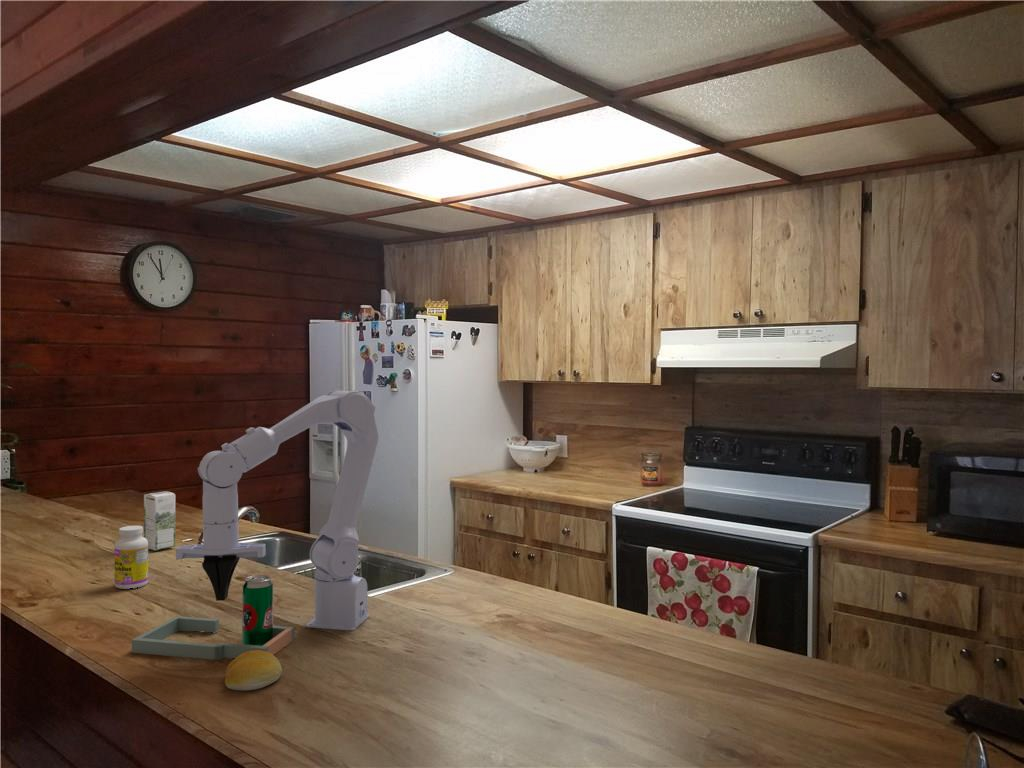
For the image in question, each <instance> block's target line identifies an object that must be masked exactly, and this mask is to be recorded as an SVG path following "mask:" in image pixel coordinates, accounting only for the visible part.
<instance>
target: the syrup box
mask: <svg viewBox="0 0 1024 768" xmlns="http://www.w3.org/2000/svg"><path fill="white" fill-rule="evenodd" d="M176 498H177V497H176V494H175V493H174V492H171V491H167V490H165V491H158V492H152V493H145V494H143V537H144V538H146V539H147V541H148V550H152V551H159V550H164V549H169V548H173V547H176Z"/></svg>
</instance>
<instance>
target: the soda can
mask: <svg viewBox="0 0 1024 768" xmlns="http://www.w3.org/2000/svg"><path fill="white" fill-rule="evenodd" d="M241 587H242V588H241V589H242V590H241V592H242V598H241V599H242V601H241V602H242V603H241V604H242V605H241V607H242V610H241V611H242V614H241V616H242V619H241V623H242V625H241V644H246V645H258V646H263V645H264V644H266V643H267V642H269V641H270V640H271V639H273V626H274V582H273V581H272V577H271V576H270V575H265V574H257V575H252V576H251V575H250V576H247V577H246V578H245V579H244V583H243V584H242V586H241Z"/></svg>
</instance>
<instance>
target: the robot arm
mask: <svg viewBox="0 0 1024 768" xmlns="http://www.w3.org/2000/svg"><path fill="white" fill-rule="evenodd" d="M375 410H376V406H375V405H374V404H373V402H372V401H371V399H370V398H369V397H368V396H367V395H366V394H365V393H364V392H362V391H359V390H353V391H351V390H349V391H348V390H343V389H334V390H331V391H329V392H328V393H326V395H325V394H323V395H321V396H318V397H316V398H315V399H313V400H312V401H311V402H309V403H307V404H306V405H304V406H302V407H301V408H299V409H298V410H296V411H294V412H293V413H291V414H290V415H288V416H287V417H286V418H284V419H282V420H281V421H279V422H278V423H276V424H275V425H272V426H271V427H269V428H266V427H262V426H257V427H256V428H255V427H251V426H250V427H249V428H247V429H246V430H245V432H246V433H245V434H244V435H242V436H241V437H239V438H236V439H235V440H234V441H231V442H230V443H228V442H225V443H224V444H222V445H221V446H220V447H221V448H222V449H221V450H213V451H210V452H207V453H206V454H205V455H204V456H203V457H202V458H201V459H202V460H201V461H200V463H199V466H198V467H197V472H198V475H199V477H200V478H201V479H202V534H203V535H202V540H203V541H202V543H201V544H200V543H198V544H189V545H179V546H177V547H176V548H175V560H177V561H178V560H179V561H181V560H184V559H203V562H202V563H201V566H202V569H203V570H204V573H206V575H207V577H208V579H209V581H210V583H211V585H212V589H213V592H214V596H215V600H216V602H217V601H226V600H227V598H228V597H229V596H228V595H229V589H230V585H231V581H232V578H233V574H234V571H235V570H236V568H237V565H238V564H239V561H240V558H243V557H244V558H245V557H247V558H249V557H250V558H251V557H252V558H253V557H255V558H256V557H257V558H264V557H265V556H266V552H267V551H266V543H253V542H252V543H250V542H249V543H248V542H240V541H239V540H240V539H239V534H240V533H239V494H238V482H239V481H240V480H241V478H242V476H243V473H247V472H248V471H250V470H252V469H253V468H255V467H257V466H259V465H260V464H261V463H264V462H265V461H267V460H269V459H270V458H272V457H273V456H275V455H277V453H278V452H279V451H278V450H279V448H280V445H281V444H282V443H284V442H285V441H287V440H290V438H293V437H295V436H297V435H299V434H300V433H302V432H304V431H306V430H307V429H309V428H312V427H313V426H315V425H317V424H319V423H321V424H323V423H324V424H325V423H326V424H331V423H332V424H334V425H335V426H336V427H337V428H339V429H340V431H341V432H342V434H343V435H344V436H345V438H346V440H347V442H348V443H347V447H346V451H345V455H344V458H343V462H342V466H341V470H340V473H339V478H338V482H337V486H336V489H335V493H334V495H333V501H332V505H331V508H330V512H329V517H328V521H326V523H325V524H324V525H323V526H322V527H321V528H320V530H319V534H318V537H317V538H316V540H315V541H314V542H313V543H312V545H311V547H310V550H309V560H310V562H311V563H312V565H313V566H314V567H315V572H314V618H313V619H311V620H310V621H308V622H307V623H306V624H305V627H306V628H311V629H313V628H314V629H324V630H325V629H326V630H335V631H336V630H337V631H350V632H353V631H354V630H356V629H357V628H358V627H359V626H360V625H361V624H362V623H364V622H365V621H366V620H368V619H369V617H370V615H369V613H368V610H369V609H368V582H367V580H366V578H364V577H360V576H357V575H355V574H354V573H356V570H357V568H358V566H359V563H360V562H359V561H360V556H359V552H358V551H359V544H360V539H359V535H358V533H357V524H358V520H359V517H360V512H361V509H362V505H363V502H364V501H363V500H364V497H365V493H366V489H367V485H368V482H369V481H368V480H369V477H370V474H371V469H372V466H373V461H374V457H375V455H376V449H377V446H378V442H379V433H378V427H377V423H376V419H375Z"/></svg>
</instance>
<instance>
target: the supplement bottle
mask: <svg viewBox="0 0 1024 768" xmlns="http://www.w3.org/2000/svg"><path fill="white" fill-rule="evenodd" d="M118 530H119V531H118V535H119V536H120V539H118V540H116V541H115V542H114V547H113V548H114V549H113V550H114V586H115V587H116V588H118V589H120V590H131V589H130V588H133V589H138V588H142V587H144V586H146V585H147V584H148V582H149V549H148V541H147V539H146V538H144V536H143V535H144V526H142V525H127V526H122V527H120V528H118ZM137 587H138V588H137Z"/></svg>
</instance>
